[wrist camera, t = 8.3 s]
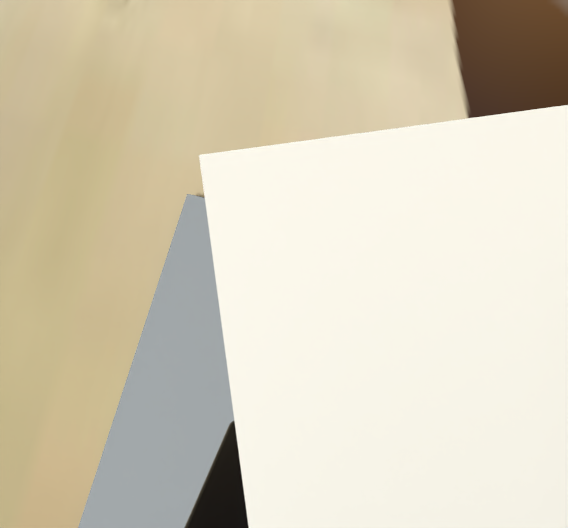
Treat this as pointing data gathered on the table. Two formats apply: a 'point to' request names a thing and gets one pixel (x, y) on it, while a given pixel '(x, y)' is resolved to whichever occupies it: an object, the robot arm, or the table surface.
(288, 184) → the white flat block
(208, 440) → the slate mat
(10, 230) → the table surface
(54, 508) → the table surface
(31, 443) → the table surface
